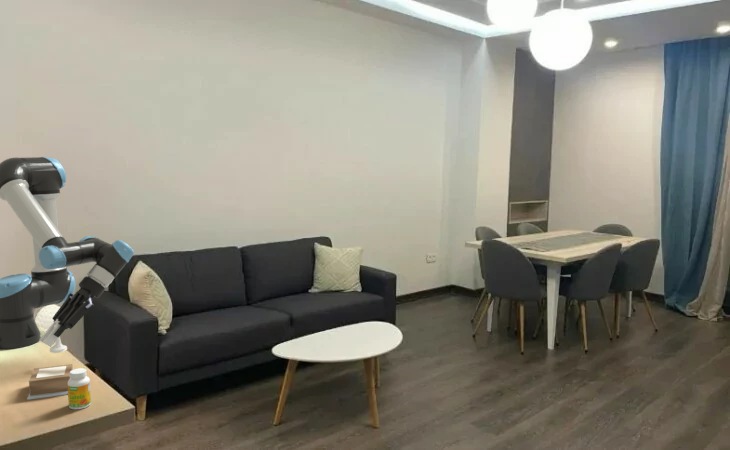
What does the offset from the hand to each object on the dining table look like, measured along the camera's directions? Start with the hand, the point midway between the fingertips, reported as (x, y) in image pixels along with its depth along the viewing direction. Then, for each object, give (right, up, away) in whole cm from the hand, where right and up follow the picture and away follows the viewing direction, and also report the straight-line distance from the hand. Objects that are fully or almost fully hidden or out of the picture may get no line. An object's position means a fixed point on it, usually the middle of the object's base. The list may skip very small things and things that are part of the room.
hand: (45, 343), depth 181 cm
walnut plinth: (+9, -10, -13) cm, 19 cm away
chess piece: (+2, -3, +4) cm, 5 cm away
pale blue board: (+8, -10, -10) cm, 17 cm away
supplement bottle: (+23, -12, -24) cm, 35 cm away
